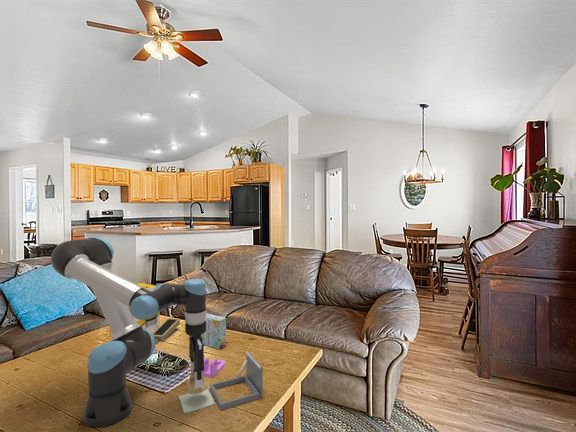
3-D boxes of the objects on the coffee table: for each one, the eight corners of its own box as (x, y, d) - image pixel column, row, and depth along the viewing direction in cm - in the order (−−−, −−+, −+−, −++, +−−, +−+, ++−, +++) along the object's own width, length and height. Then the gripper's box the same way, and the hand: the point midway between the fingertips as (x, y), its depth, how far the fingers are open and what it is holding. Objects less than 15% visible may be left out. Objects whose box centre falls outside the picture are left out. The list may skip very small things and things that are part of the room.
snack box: (226, 346, 171) (226, 317, 170) (219, 350, 166) (219, 320, 165) (198, 337, 182) (198, 310, 181) (190, 340, 177) (190, 313, 177)
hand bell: (196, 396, 117) (195, 352, 117) (180, 389, 122) (179, 347, 121) (212, 385, 124) (212, 344, 124) (197, 379, 129) (196, 339, 128)
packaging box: (133, 337, 182) (133, 292, 181) (117, 331, 190) (116, 288, 189) (159, 328, 195) (159, 286, 194) (143, 322, 204) (142, 282, 203)
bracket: (213, 377, 140) (213, 361, 140) (201, 375, 142) (201, 360, 141) (227, 363, 152) (227, 348, 152) (216, 362, 154) (216, 347, 154)
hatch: (220, 410, 118) (220, 377, 117) (209, 389, 131) (209, 359, 131) (262, 397, 126) (262, 366, 125) (248, 379, 139) (248, 351, 138)
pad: (184, 413, 116) (184, 412, 116) (178, 397, 125) (178, 396, 125) (215, 404, 121) (215, 403, 121) (207, 389, 131) (207, 388, 131)
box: (181, 325, 195) (180, 318, 194) (161, 348, 173) (160, 340, 172) (168, 325, 196) (167, 317, 195) (146, 347, 174) (145, 339, 173)
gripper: (212, 328, 115) (213, 393, 116) (199, 312, 132) (200, 369, 133) (190, 332, 112) (191, 399, 113) (180, 315, 129) (181, 373, 130)
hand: (196, 382), depth 123 cm, fingers closed on hand bell, 6 cm apart
